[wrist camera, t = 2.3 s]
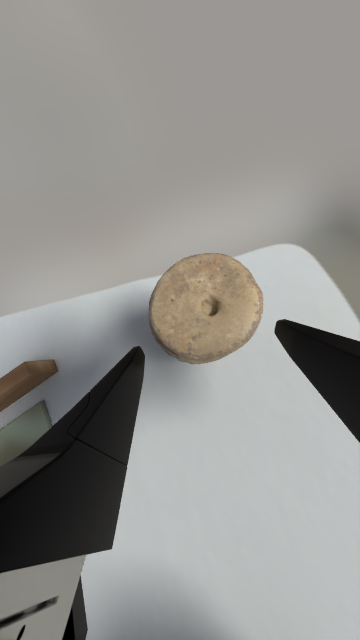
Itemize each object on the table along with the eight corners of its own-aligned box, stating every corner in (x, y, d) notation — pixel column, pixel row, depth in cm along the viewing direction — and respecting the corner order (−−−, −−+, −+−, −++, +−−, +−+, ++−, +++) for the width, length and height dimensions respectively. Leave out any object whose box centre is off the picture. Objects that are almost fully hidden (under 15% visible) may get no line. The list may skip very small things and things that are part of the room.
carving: (231, 317, 18) (296, 257, 6) (209, 368, 17) (237, 414, 5) (189, 300, 19) (178, 224, 7) (167, 347, 18) (112, 344, 6)
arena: (105, 499, 15) (79, 543, 12) (-24, 594, 15) (-90, 667, 11) (53, 359, 20) (24, 361, 17) (-45, 429, 20) (-96, 446, 16)
